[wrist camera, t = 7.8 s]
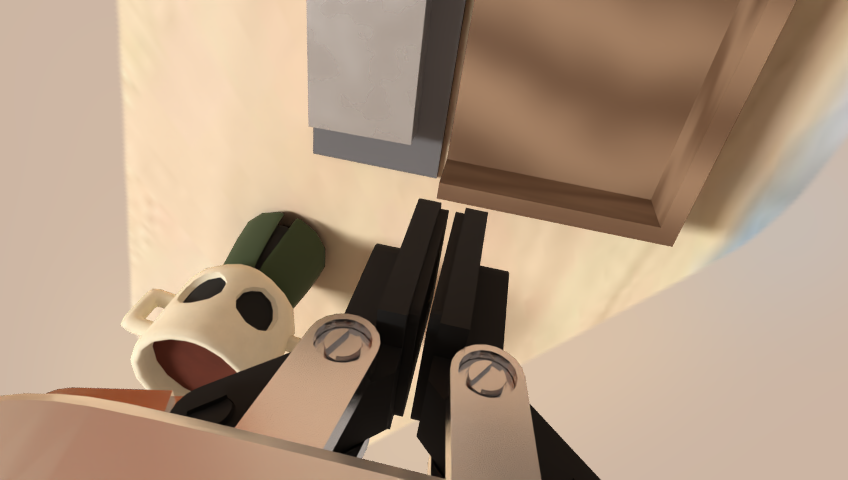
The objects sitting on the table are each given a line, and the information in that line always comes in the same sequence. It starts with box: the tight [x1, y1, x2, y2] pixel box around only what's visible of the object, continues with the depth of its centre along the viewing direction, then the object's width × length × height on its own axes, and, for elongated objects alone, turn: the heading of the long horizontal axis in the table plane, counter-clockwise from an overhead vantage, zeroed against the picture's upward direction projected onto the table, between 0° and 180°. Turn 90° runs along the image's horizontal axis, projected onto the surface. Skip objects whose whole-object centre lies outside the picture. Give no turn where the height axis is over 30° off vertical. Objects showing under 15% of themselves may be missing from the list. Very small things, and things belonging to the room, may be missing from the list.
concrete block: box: [307, 0, 432, 145], centre depth 28 cm, size 10×6×2 cm, turn 174°
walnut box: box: [437, 0, 797, 247], centre depth 26 cm, size 14×13×4 cm
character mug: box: [121, 212, 325, 396], centre depth 33 cm, size 11×7×13 cm, turn 73°
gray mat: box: [313, 0, 466, 178], centre depth 29 cm, size 16×8×1 cm, turn 173°
